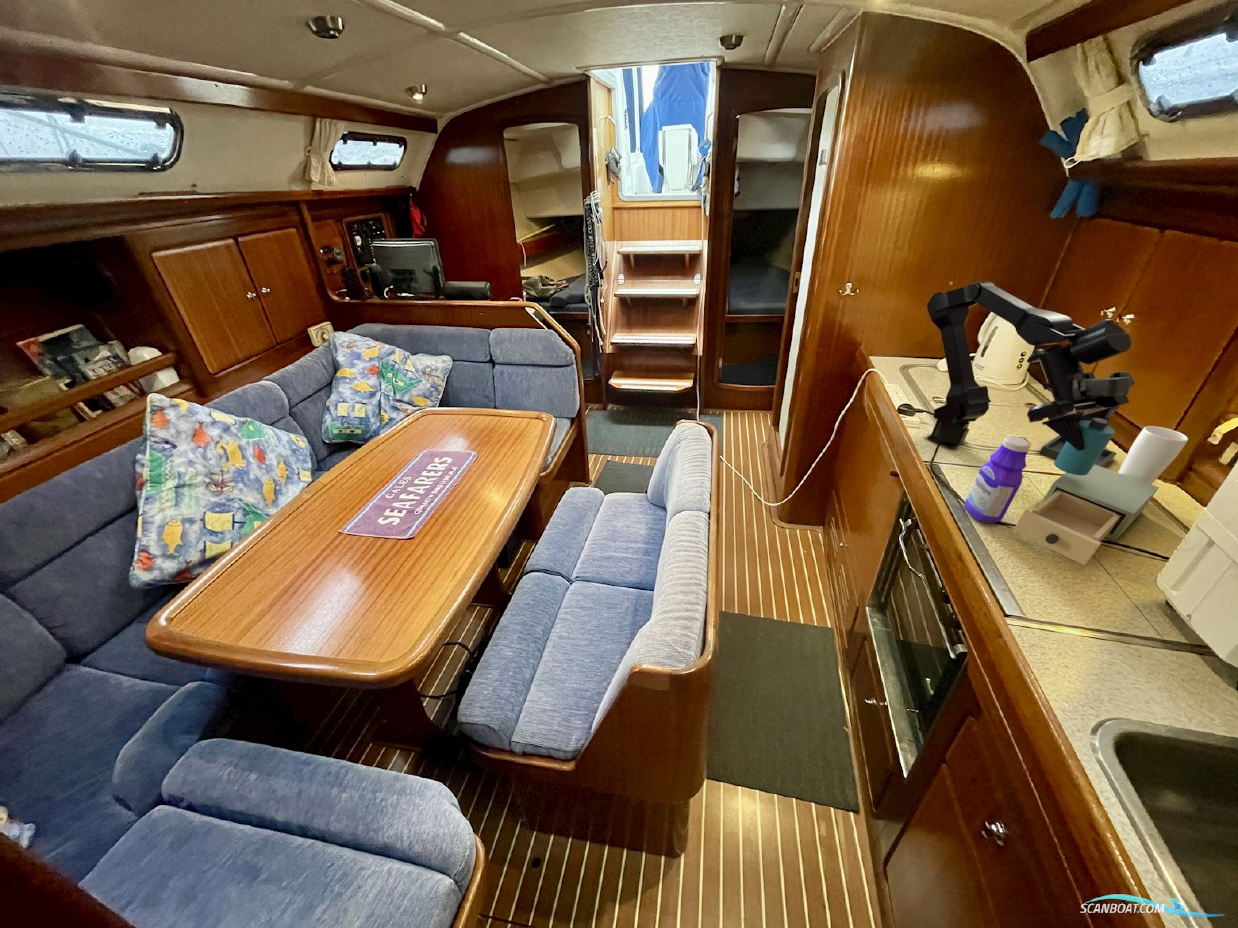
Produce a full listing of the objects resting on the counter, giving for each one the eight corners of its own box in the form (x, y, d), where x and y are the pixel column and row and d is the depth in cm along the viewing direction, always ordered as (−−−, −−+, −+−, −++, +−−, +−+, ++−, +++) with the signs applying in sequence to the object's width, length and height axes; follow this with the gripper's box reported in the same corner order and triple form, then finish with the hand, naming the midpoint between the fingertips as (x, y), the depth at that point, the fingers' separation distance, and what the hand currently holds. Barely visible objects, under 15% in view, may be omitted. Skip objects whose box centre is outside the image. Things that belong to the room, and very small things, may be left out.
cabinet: (1114, 540, 93) (1134, 513, 89) (1038, 507, 102) (1053, 481, 98) (1140, 513, 100) (1159, 487, 97) (1067, 484, 109) (1082, 459, 106)
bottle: (956, 503, 103) (990, 431, 94) (983, 504, 103) (1020, 432, 94) (977, 525, 97) (1015, 450, 87) (1005, 525, 97) (1047, 451, 87)
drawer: (1082, 568, 85) (1096, 547, 83) (1009, 533, 93) (1021, 513, 91) (1112, 535, 93) (1126, 516, 90) (1043, 506, 101) (1054, 487, 98)
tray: (1039, 453, 121) (1042, 446, 120) (1057, 440, 126) (1060, 434, 125) (1095, 473, 113) (1100, 466, 112) (1112, 459, 118) (1117, 452, 117)
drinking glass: (1153, 503, 103) (1198, 443, 95) (1116, 499, 104) (1158, 439, 96) (1131, 486, 109) (1172, 427, 101) (1097, 482, 110) (1135, 424, 102)
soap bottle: (1051, 467, 99) (1080, 420, 93) (1055, 457, 102) (1083, 411, 96) (1086, 479, 96) (1118, 430, 90) (1089, 467, 99) (1120, 420, 93)
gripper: (1074, 361, 88) (1105, 443, 85) (1146, 352, 92) (1179, 430, 89) (1014, 384, 98) (1040, 458, 95) (1081, 375, 103) (1108, 445, 100)
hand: (1092, 448), depth 95 cm, fingers closed on soap bottle, 5 cm apart
